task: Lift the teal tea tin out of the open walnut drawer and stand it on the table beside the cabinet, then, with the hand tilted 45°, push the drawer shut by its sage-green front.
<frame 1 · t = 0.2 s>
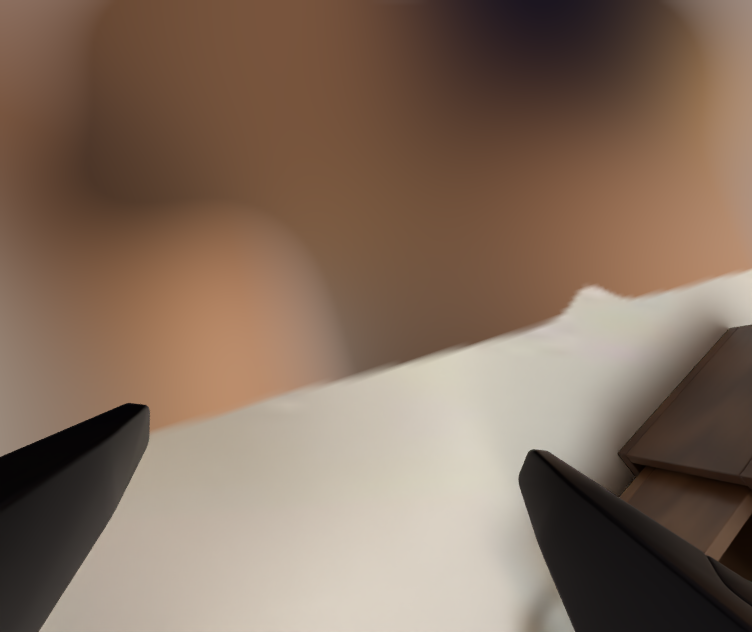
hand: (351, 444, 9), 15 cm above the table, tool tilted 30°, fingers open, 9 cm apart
drawer: (721, 609, 21), point 4 cm above the table, slide at 7.5 cm, touching tea tin
cabinet: (738, 462, 28), on the table
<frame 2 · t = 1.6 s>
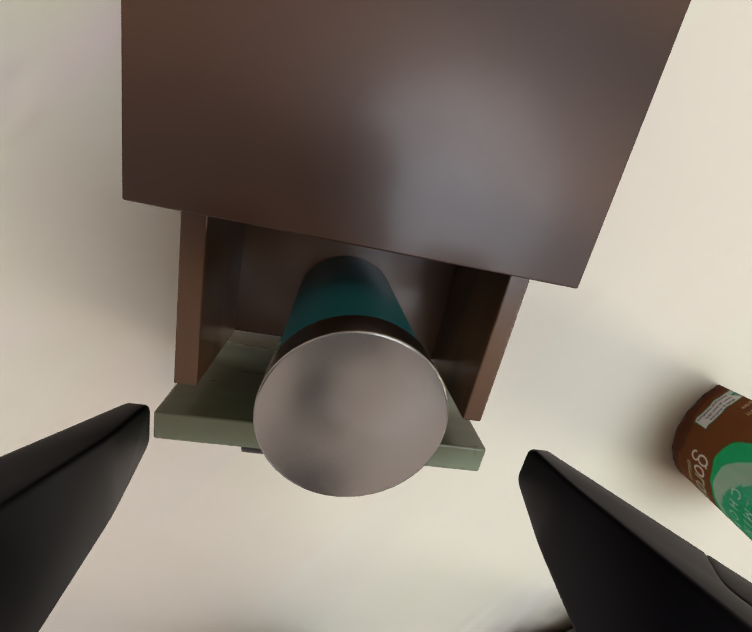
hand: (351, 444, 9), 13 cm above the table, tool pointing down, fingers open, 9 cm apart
tea tin: (345, 302, 19), point 2 cm above the table, touching drawer
drawer: (348, 309, 17), point 4 cm above the table, slide at 7.5 cm, touching tea tin
food container: (696, 449, 28), on the table
cabinet: (390, 51, 17), on the table
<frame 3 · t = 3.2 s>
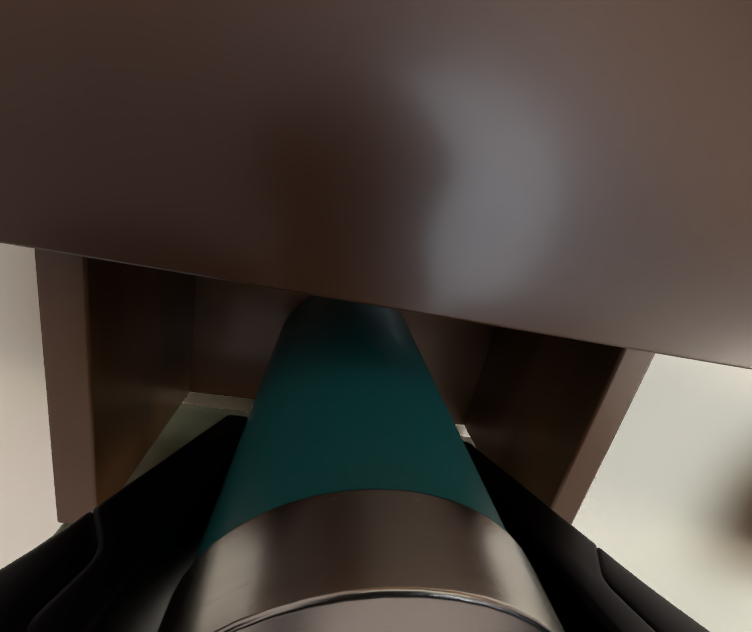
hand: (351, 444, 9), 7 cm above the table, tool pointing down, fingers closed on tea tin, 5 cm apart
tea tin: (345, 353, 13), point 2 cm above the table, touching drawer, gripper
drawer: (350, 373, 11), point 4 cm above the table, slide at 7.5 cm, touching tea tin
when the fingers open (5 cm above the table, at t = 8.1 s): tea tin stays where it is, on the table.
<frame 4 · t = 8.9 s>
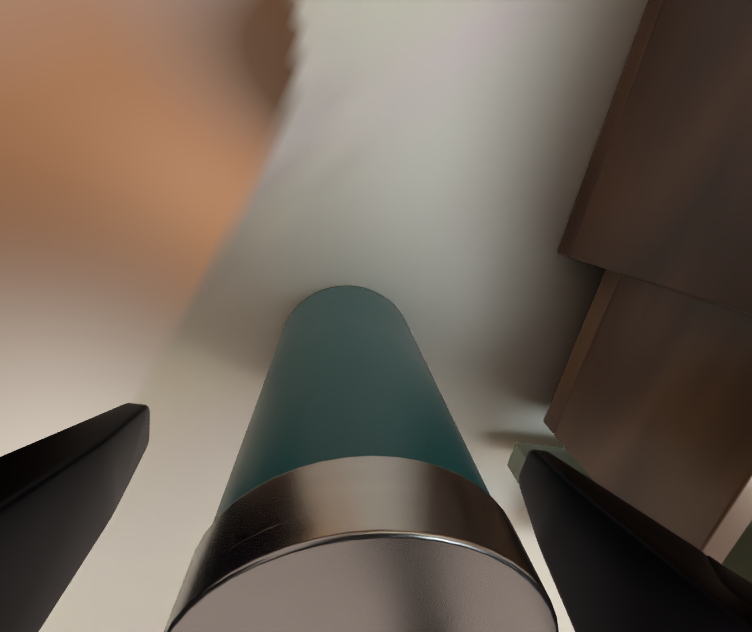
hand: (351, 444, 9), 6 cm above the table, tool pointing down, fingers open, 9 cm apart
tea tin: (346, 347, 14), on the table
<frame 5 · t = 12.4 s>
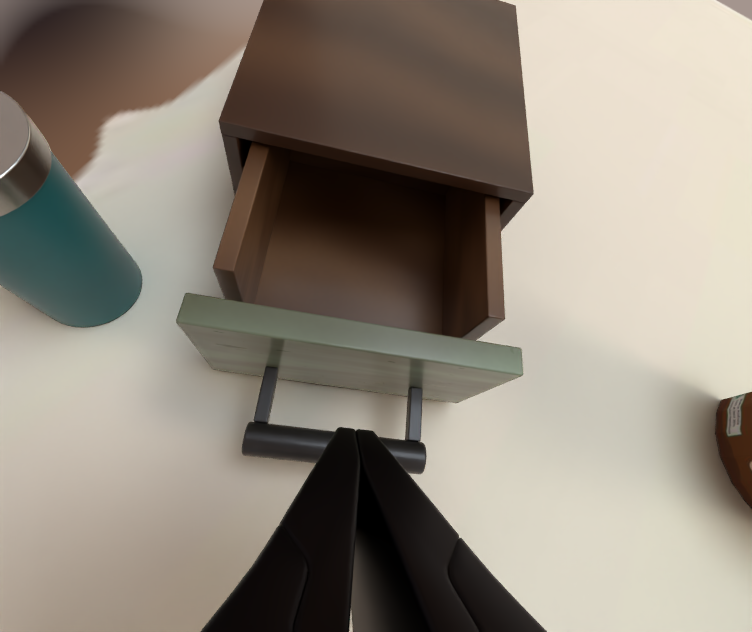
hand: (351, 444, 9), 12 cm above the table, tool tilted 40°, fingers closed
tea tin: (92, 285, 20), on the table
drawer: (362, 272, 19), point 4 cm above the table, slide at 7.5 cm
cabinet: (369, 167, 27), on the table
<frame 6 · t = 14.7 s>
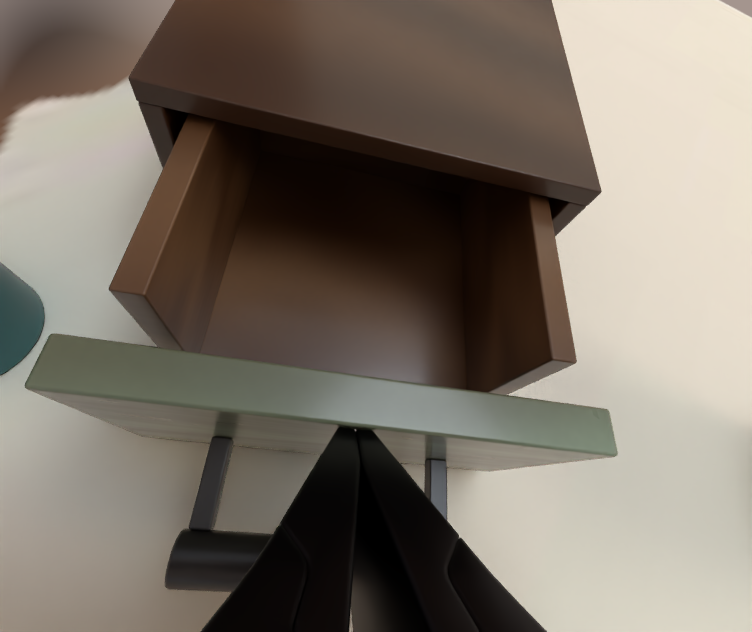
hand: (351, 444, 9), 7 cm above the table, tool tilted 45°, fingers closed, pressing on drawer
drawer: (356, 292, 13), point 4 cm above the table, slide at 6.9 cm, touching gripper
cabinet: (362, 170, 22), on the table
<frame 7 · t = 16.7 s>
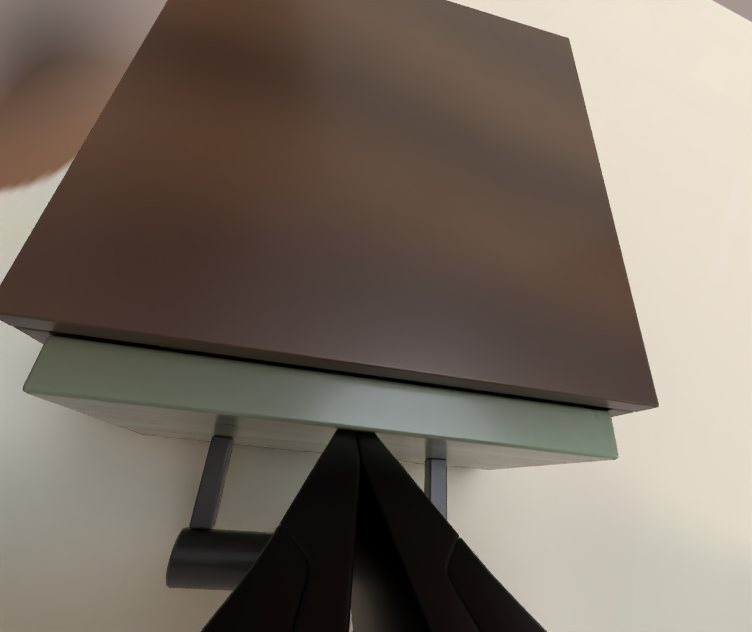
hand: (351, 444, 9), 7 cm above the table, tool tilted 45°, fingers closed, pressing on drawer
drawer: (356, 291, 13), point 4 cm above the table, slide at 0.0 cm, touching cabinet, gripper
cabinet: (350, 266, 19), on the table
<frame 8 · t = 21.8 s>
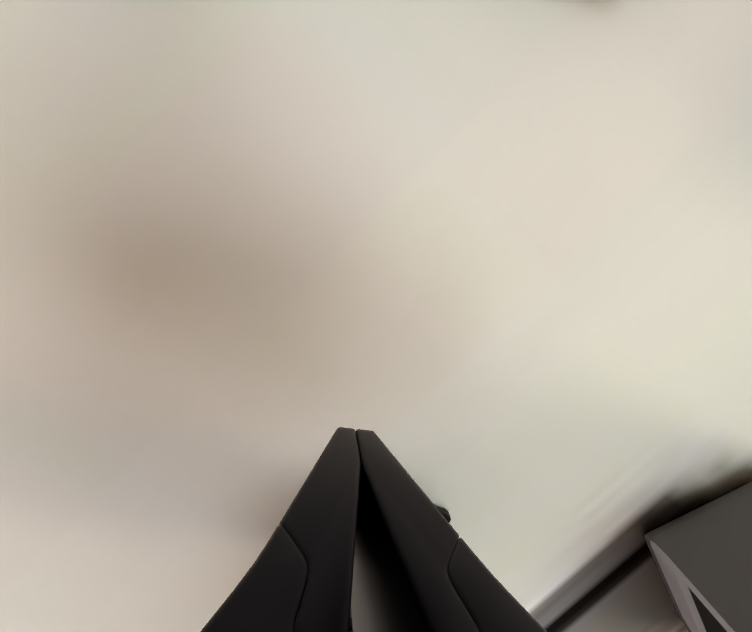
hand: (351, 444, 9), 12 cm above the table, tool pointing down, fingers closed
alarm clock: (725, 545, 30), on the table
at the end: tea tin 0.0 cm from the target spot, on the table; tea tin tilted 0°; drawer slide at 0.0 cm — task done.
